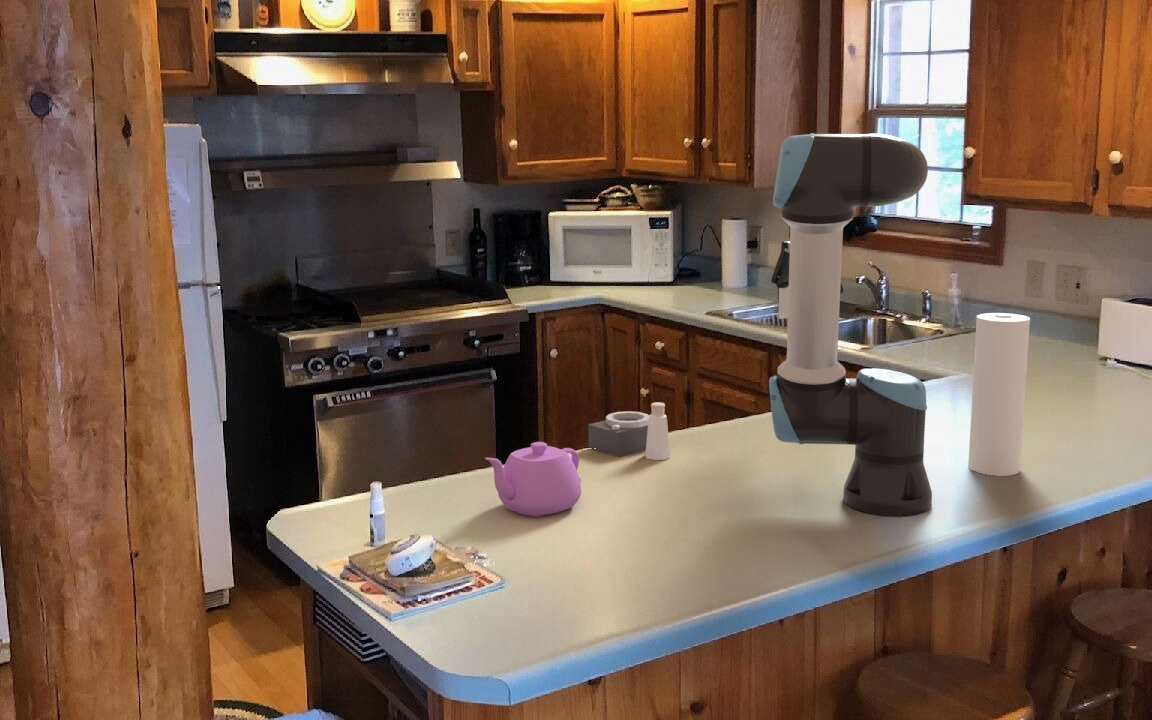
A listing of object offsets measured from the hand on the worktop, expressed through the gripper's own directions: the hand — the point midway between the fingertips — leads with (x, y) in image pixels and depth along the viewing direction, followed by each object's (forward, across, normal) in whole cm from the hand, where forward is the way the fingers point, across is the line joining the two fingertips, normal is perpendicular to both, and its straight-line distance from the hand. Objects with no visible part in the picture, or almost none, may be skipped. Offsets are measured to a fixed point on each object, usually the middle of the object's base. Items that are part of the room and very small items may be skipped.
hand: (805, 322), depth 248 cm
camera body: (+24, +13, +35) cm, 45 cm away
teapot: (+25, -13, +70) cm, 75 cm away
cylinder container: (+25, -37, -17) cm, 47 cm away
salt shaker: (+25, +3, +34) cm, 42 cm away
